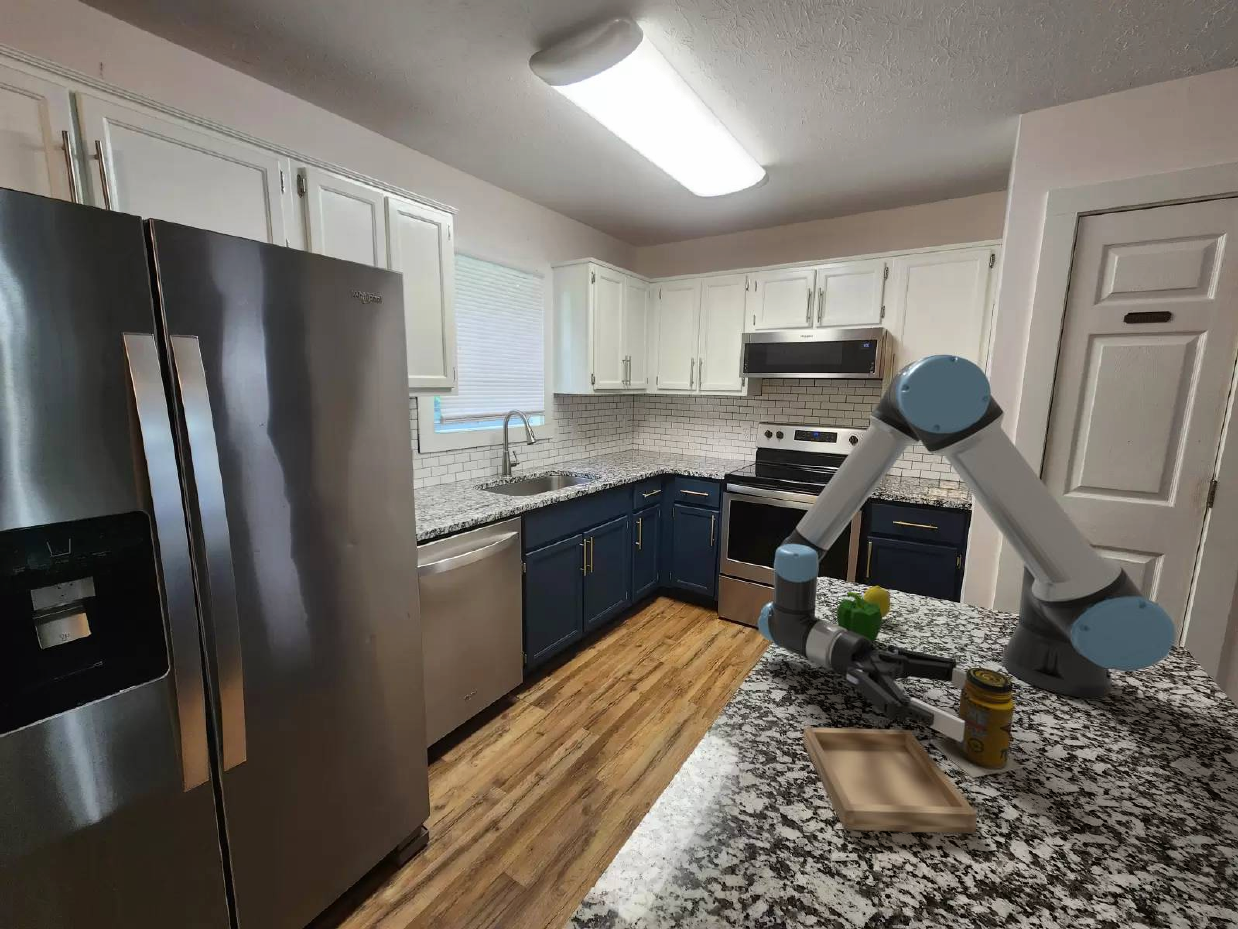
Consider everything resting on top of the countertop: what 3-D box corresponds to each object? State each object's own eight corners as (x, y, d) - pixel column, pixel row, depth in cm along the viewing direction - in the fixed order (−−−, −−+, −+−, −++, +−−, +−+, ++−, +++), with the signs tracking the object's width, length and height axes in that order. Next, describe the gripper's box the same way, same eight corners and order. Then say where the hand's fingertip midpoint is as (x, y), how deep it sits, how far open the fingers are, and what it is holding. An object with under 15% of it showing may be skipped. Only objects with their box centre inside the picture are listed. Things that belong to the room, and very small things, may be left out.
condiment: (1023, 768, 70) (1033, 687, 69) (972, 779, 68) (981, 695, 67) (975, 734, 77) (983, 659, 76) (928, 742, 75) (935, 666, 74)
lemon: (892, 626, 113) (895, 591, 112) (865, 624, 114) (867, 589, 113) (884, 615, 118) (887, 582, 117) (858, 613, 119) (861, 580, 118)
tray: (907, 746, 75) (909, 730, 74) (975, 833, 60) (977, 814, 59) (803, 743, 75) (804, 727, 75) (844, 829, 60) (845, 810, 60)
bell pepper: (888, 643, 105) (892, 596, 104) (865, 654, 101) (869, 605, 99) (851, 627, 112) (854, 583, 111) (827, 637, 108) (830, 591, 106)
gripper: (877, 650, 96) (1013, 706, 79) (795, 695, 82) (940, 776, 64) (880, 612, 95) (1019, 660, 78) (797, 651, 80) (946, 721, 63)
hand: (984, 713), depth 71 cm, fingers open, 13 cm apart
